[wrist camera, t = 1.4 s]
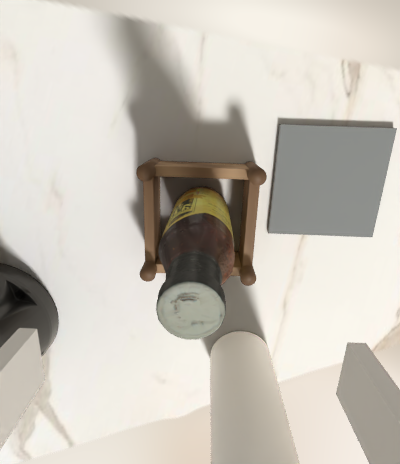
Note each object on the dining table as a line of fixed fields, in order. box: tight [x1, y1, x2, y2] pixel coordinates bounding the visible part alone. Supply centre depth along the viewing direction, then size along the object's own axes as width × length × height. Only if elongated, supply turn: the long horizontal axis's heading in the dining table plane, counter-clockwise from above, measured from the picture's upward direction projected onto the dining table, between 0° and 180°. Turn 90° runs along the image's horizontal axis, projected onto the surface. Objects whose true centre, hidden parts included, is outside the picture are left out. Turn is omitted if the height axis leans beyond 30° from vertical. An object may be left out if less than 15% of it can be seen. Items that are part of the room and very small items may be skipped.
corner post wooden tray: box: [136, 158, 266, 286], centre depth 33 cm, size 12×12×6 cm
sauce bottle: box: [156, 187, 235, 339], centre depth 27 cm, size 7×6×20 cm
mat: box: [268, 124, 397, 237], centre depth 34 cm, size 12×12×1 cm
